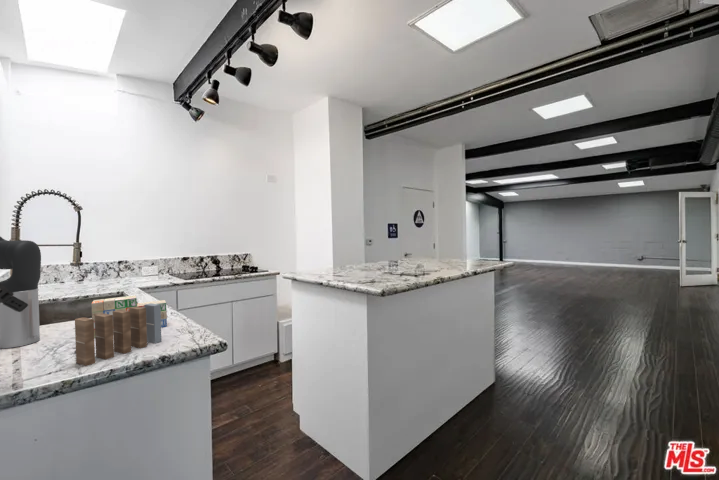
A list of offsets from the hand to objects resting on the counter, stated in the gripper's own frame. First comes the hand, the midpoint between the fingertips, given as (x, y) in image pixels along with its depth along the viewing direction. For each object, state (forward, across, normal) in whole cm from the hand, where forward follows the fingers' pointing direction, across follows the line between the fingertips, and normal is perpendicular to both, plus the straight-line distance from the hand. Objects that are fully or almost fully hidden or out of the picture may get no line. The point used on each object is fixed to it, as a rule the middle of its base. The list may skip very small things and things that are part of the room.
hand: (23, 308), depth 73 cm
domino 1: (+21, 0, -4) cm, 21 cm away
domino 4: (+30, 0, +5) cm, 31 cm away
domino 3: (+27, 0, +2) cm, 27 cm away
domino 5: (+33, 0, +9) cm, 34 cm away
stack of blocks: (+37, -20, +11) cm, 43 cm away
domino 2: (+24, 0, -1) cm, 24 cm away
